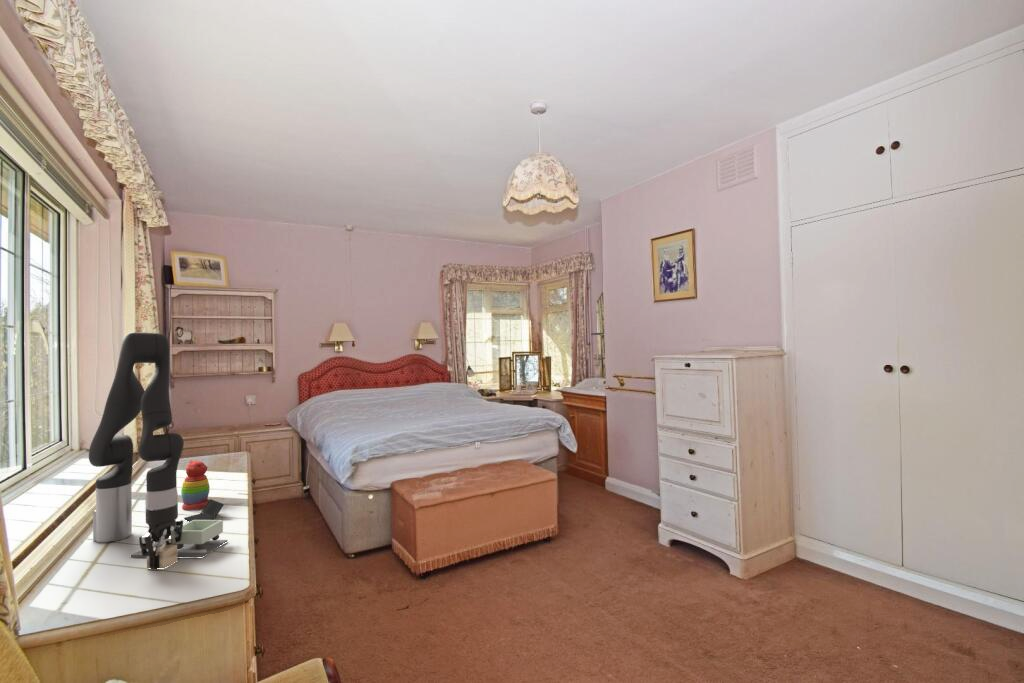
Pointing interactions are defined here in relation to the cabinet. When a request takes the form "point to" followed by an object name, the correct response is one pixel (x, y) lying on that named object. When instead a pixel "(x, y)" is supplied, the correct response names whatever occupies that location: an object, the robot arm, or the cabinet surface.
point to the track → (191, 549)
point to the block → (165, 556)
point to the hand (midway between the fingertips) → (162, 563)
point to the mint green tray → (200, 532)
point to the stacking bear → (195, 486)
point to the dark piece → (207, 511)
